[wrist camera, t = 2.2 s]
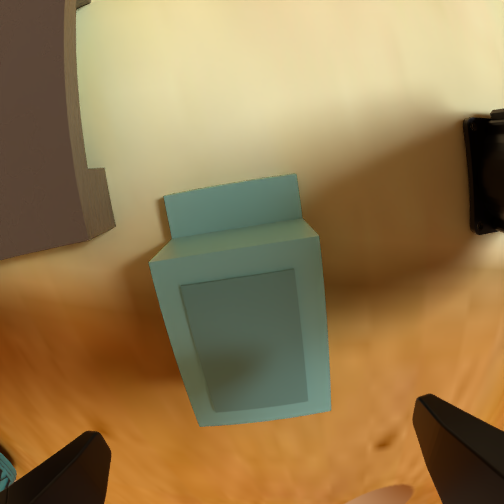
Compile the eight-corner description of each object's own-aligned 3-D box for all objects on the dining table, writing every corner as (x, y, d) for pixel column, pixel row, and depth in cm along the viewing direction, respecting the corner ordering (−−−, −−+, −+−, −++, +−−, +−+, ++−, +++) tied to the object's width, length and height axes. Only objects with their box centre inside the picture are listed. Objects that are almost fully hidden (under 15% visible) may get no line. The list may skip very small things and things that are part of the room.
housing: (316, 384, 18) (331, 439, 13) (216, 397, 18) (209, 454, 14) (293, 173, 15) (312, 177, 10) (167, 194, 15) (134, 207, 10)
